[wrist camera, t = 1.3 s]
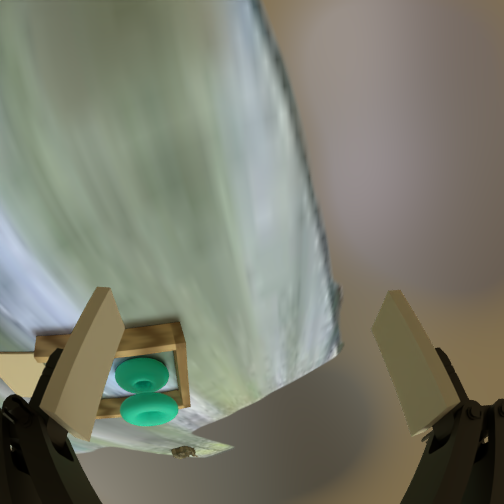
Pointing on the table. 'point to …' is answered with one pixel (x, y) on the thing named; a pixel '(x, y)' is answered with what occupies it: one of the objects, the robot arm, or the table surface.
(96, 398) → the robot arm
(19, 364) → the beige mat
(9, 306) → the table surface
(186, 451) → the rough brown lump
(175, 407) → the donuts
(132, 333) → the wooden u-shaped frame
